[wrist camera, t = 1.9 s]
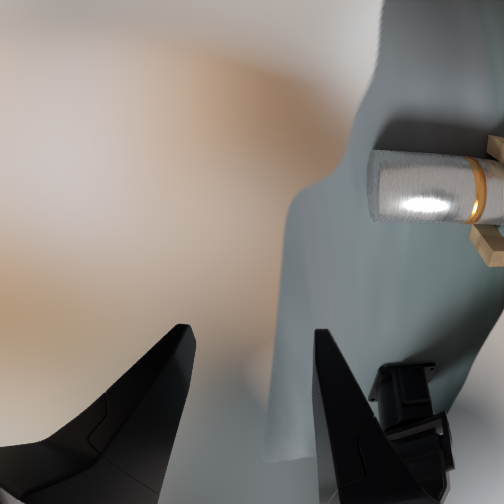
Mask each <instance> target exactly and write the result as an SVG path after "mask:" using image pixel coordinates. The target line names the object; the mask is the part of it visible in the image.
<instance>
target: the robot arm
mask: <svg viewBox="0 0 504 504" xmlns="http://www.w3.org/2000/svg"><path fill="white" fill-rule="evenodd" d="M195 351H196V340H195V337H194V334H193V331H192V328H191V326H190V325H188V324H177V325H175V326H174V327H173V328H172V329H171V330H170V331H169V332H168V333H167V334H166V335H165V336H164V337H163V338H162V339H161V340H160V341H158V343H156V344H155V345H154V346H153V347H152V348H151V349H150V350H149V351H148V352H147V353H146V354H145V355H144V356H143V357H142V358H140V359H139V360H138V361H137V362H136V363H135V364H134V365H133V366H132V367H131V368H130V369H129V370H128V371H127V372H126V373H125V374H123V375H122V376H121V377H120V378H119V379H118V380H117V381H116V382H115V383H114V384H113V385H112V386H111V387H110V388H109V389H108V390H107V391H106V393H103V394H102V395H101V396H100V397H99V398H98V399H97V400H96V401H95V402H93V403H92V404H91V405H90V406H89V407H88V408H87V409H85V410H84V411H83V412H82V413H80V414H79V415H78V416H77V417H76V418H74V419H73V420H71V421H70V422H69V423H67V424H66V425H65V426H64V427H62V428H61V429H59V430H58V431H57V432H55V433H54V434H53V435H51V436H50V437H48V438H46V439H45V440H42V441H39V442H35V443H29V444H21V445H14V446H5V447H0V504H157V503H158V499H159V496H160V495H159V494H160V491H161V488H162V484H163V480H164V476H165V473H166V469H167V465H168V461H169V458H170V455H171V451H172V448H173V444H174V440H175V437H176V433H177V430H178V426H179V422H180V419H181V415H182V412H183V408H184V405H185V402H186V398H187V394H188V391H189V387H190V381H191V375H192V369H193V363H194V357H195ZM436 368H437V367H436V364H435V363H430V364H420V365H408V366H395V367H382V368H380V369H379V370H378V372H377V375H376V378H375V380H374V383H373V386H372V389H371V391H370V394H369V396H368V400H369V401H370V402H375V401H378V411H379V422H380V424H379V422H378V420H377V418H376V417H375V416H374V413H373V411H372V409H371V407H370V405H369V403H368V402H367V400H366V398H365V396H364V394H363V392H362V390H361V388H360V386H359V385H358V383H357V381H356V379H355V377H354V375H353V373H352V371H351V370H350V368H349V366H348V364H347V362H346V360H345V358H344V357H343V355H342V353H341V351H340V349H339V347H338V346H337V344H336V342H335V340H334V338H333V336H332V335H331V333H330V331H329V330H328V329H315V331H314V346H313V376H312V404H313V416H314V428H315V441H316V455H317V470H318V487H319V504H443V503H444V501H445V499H446V497H447V495H448V493H449V490H450V480H449V471H451V470H454V469H455V460H454V450H453V443H452V436H451V431H450V426H449V422H448V419H447V415H446V412H445V410H444V411H442V412H440V413H439V414H436V415H434V413H433V408H432V402H431V397H430V392H429V388H428V383H429V381H430V379H431V377H432V375H433V374H434V372H435V370H436ZM440 433H443V435H439V434H440Z"/></svg>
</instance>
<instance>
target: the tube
mask: <svg viewBox="0 0 504 504" xmlns="http://www.w3.org/2000/svg"><path fill="white" fill-rule="evenodd" d="M367 197H368V206H369V212H370V216H371V218H372V220H373V221H374V222H423V223H459V224H490V225H504V164H503V163H501V162H500V161H495V160H487V159H480V158H473V157H468V156H455V155H445V154H434V153H421V152H407V151H389V150H372V151H371V153H370V155H369V160H368V167H367Z"/></svg>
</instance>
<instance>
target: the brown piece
mask: <svg viewBox="0 0 504 504" xmlns="http://www.w3.org/2000/svg"><path fill="white" fill-rule="evenodd" d="M486 152H487V153H489V154H490V155H491V156H493V157H494V158H496V159H497V160H498V161H500V162H501V163H503V164H504V138H503V137H498V136H493V135H488V143H487V151H486ZM469 239H470V241H471V242H472V243H473V245H474V246H475V248H476V249H477V251H478V252H479V254H480V255H481V257H482V258H483V260H484V261H485V263H486V264H487V266H488V267H496V266H504V237H503V236H502V235H501V234H500V233H499V231H498V230H497V229H496V228H495V226H494V225H490V224H472V227H471V231H470V235H469Z"/></svg>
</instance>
